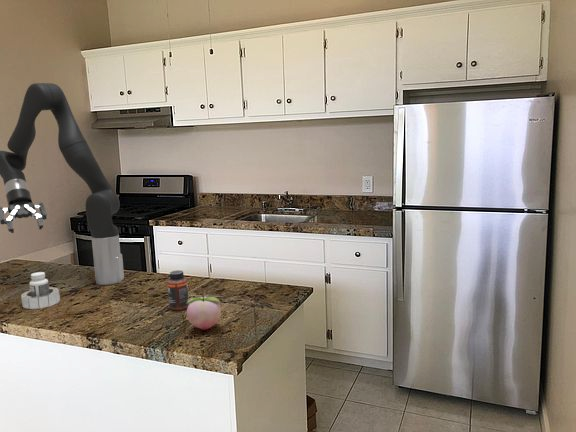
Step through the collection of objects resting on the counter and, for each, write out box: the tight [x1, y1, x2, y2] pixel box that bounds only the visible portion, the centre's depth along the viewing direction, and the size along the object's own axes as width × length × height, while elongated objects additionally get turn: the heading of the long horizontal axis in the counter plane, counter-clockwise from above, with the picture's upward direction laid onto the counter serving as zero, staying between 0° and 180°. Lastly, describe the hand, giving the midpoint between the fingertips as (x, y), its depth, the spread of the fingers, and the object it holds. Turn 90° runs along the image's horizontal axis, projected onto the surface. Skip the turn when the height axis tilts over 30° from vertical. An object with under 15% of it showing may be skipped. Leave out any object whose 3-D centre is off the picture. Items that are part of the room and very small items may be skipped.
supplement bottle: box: [167, 270, 190, 311], centre depth 141 cm, size 6×6×11 cm
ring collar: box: [20, 286, 61, 310], centre depth 148 cm, size 10×10×4 cm
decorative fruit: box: [186, 293, 222, 330], centre depth 124 cm, size 9×8×10 cm
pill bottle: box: [28, 271, 50, 297], centre depth 148 cm, size 5×5×10 cm
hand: (26, 229), depth 159 cm, fingers open, 8 cm apart
